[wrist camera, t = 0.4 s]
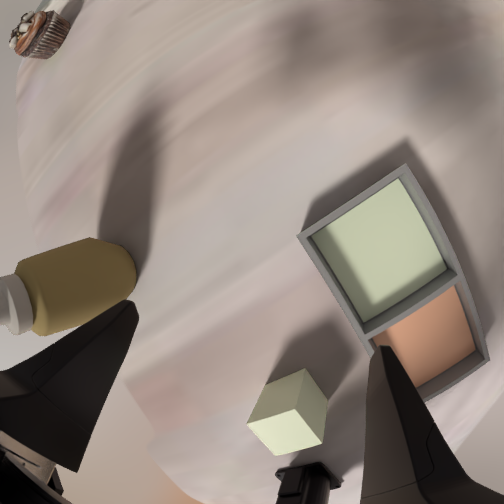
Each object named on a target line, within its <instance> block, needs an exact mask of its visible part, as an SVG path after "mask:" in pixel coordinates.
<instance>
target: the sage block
mask: <svg viewBox="0 0 504 504" xmlns="http://www.w3.org/2000/svg"><path fill="white" fill-rule="evenodd" d="M327 405H328V400H327V399H326V397H325V396H324V394H323V393H322V391H321V390H320V388H319V387H318V386H317V384H316V383H315V381H314V380H313V378H312V377H311V375H310V374H309V373H308V371H307V370H306V368H304V369H302V370H300V371H297V372H295V373H293V374H290V375H288V376H286V377H283V378H281V379H278V380H276V381H273V382H271V383H268V384H266V385H265V386H264V388H263V390H262V393H261V395H260V397H259V399H258V401H257V403H256V405H255V407H254V409H253V412H252V414H251V416H250V418H249V420H248V422H247V425H248V426H249V428H250V429H251V430H252V431H253V432H254V433H255V434H256V435H257V437H258V438H259V439H260V440H261V441H262V442H263V443H264V444H265V445H266V446H267V448H268V449H269V450H270V451H271V452H272V453H273V454H274V455H275V456H278V455H282V454H286V453H290V452H294V451H298V450H302V449H306V448H309V447H313V446H316V445H319V444H322V443H323V436H324V429H325V422H326V414H327Z"/></svg>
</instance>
